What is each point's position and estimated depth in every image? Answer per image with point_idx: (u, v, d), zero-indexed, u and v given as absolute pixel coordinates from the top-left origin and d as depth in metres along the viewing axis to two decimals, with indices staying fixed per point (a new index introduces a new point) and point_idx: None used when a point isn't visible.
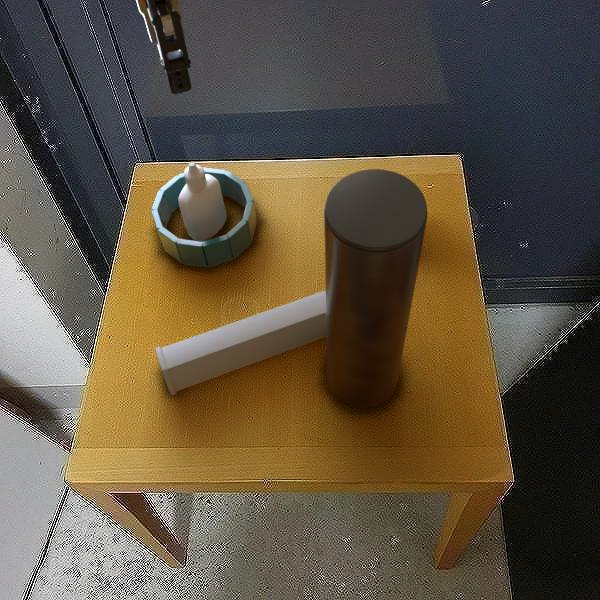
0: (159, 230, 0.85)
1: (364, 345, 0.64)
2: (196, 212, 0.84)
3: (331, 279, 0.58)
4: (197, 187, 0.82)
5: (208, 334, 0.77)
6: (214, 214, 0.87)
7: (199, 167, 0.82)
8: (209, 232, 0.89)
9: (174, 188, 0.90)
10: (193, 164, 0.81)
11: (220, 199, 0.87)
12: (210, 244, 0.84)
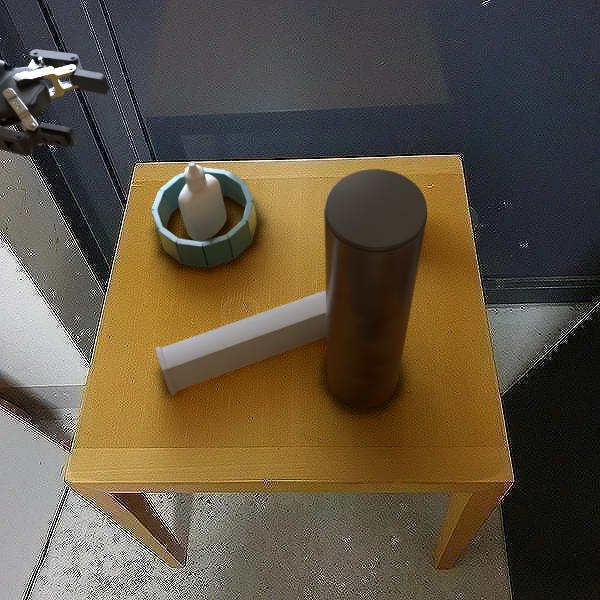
0: (159, 230, 0.85)
1: (364, 345, 0.64)
2: (196, 212, 0.84)
3: (331, 279, 0.58)
4: (197, 187, 0.82)
5: (208, 334, 0.77)
6: (214, 214, 0.87)
7: (199, 167, 0.82)
8: (209, 232, 0.89)
9: (174, 188, 0.90)
10: (193, 164, 0.81)
11: (220, 199, 0.87)
12: (210, 244, 0.84)
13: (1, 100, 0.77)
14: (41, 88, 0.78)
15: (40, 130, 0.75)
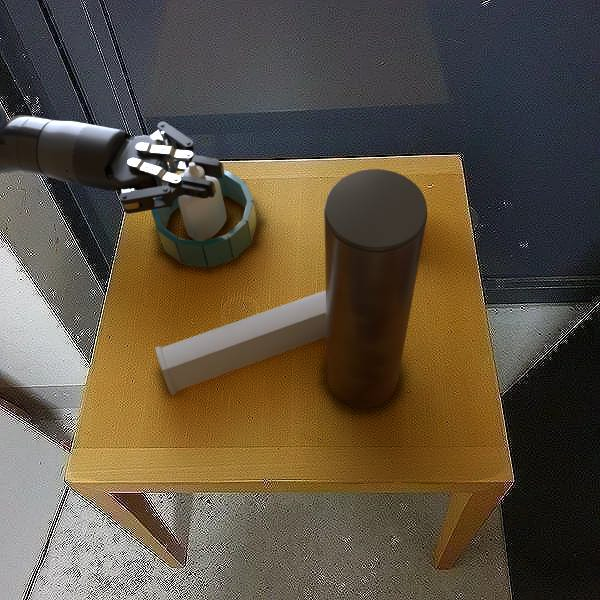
0: (159, 230, 0.85)
1: (364, 345, 0.64)
2: (196, 212, 0.84)
3: (331, 279, 0.58)
4: None
5: (208, 334, 0.77)
6: (214, 214, 0.87)
7: (199, 167, 0.82)
8: (209, 232, 0.89)
9: None
10: (193, 164, 0.81)
11: (220, 199, 0.87)
12: (210, 244, 0.84)
13: (125, 169, 0.82)
14: (161, 157, 0.83)
15: (183, 183, 0.81)
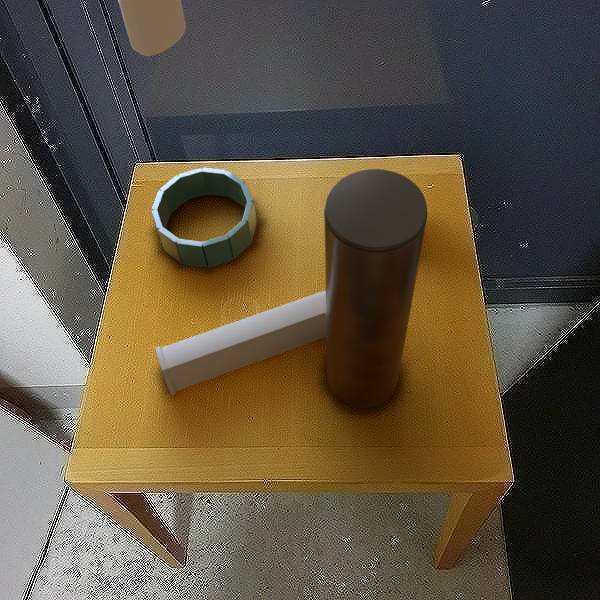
0: (159, 230, 0.85)
1: (364, 345, 0.64)
2: None
3: (331, 279, 0.58)
4: None
5: (208, 334, 0.77)
6: (166, 11, 0.62)
7: None
8: (160, 41, 0.64)
9: (174, 188, 0.90)
10: None
11: None
12: (210, 244, 0.84)
13: None
14: None
15: None
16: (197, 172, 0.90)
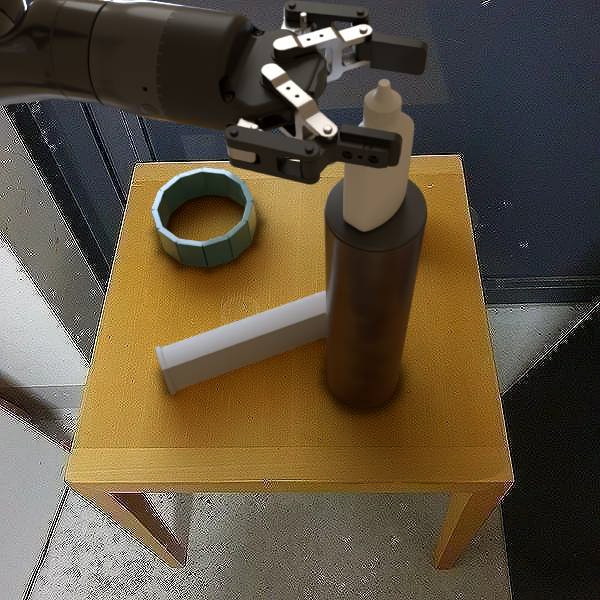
0: (159, 230, 0.85)
1: (364, 345, 0.64)
2: (377, 176, 0.47)
3: (331, 279, 0.58)
4: (387, 129, 0.45)
5: (208, 334, 0.77)
6: (398, 182, 0.49)
7: (393, 91, 0.44)
8: (384, 214, 0.51)
9: (174, 188, 0.90)
10: (387, 83, 0.43)
11: (410, 155, 0.49)
12: (210, 244, 0.84)
13: (256, 85, 0.43)
14: (321, 64, 0.44)
15: (341, 138, 0.41)
16: (197, 172, 0.90)
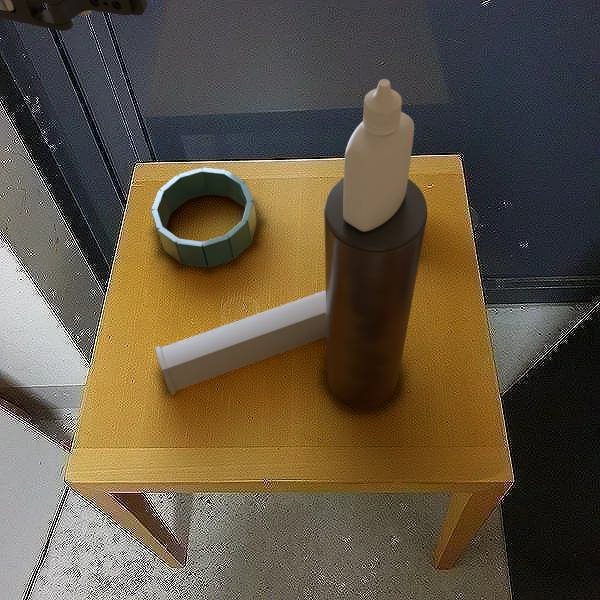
0: (159, 230, 0.85)
1: (364, 345, 0.64)
2: (377, 176, 0.47)
3: (331, 279, 0.58)
4: (387, 129, 0.45)
5: (208, 334, 0.77)
6: (398, 182, 0.49)
7: (393, 91, 0.44)
8: (384, 214, 0.51)
9: (174, 188, 0.90)
10: (387, 83, 0.43)
11: (410, 155, 0.49)
12: (210, 244, 0.84)
13: None
14: None
15: None
16: (197, 172, 0.90)
